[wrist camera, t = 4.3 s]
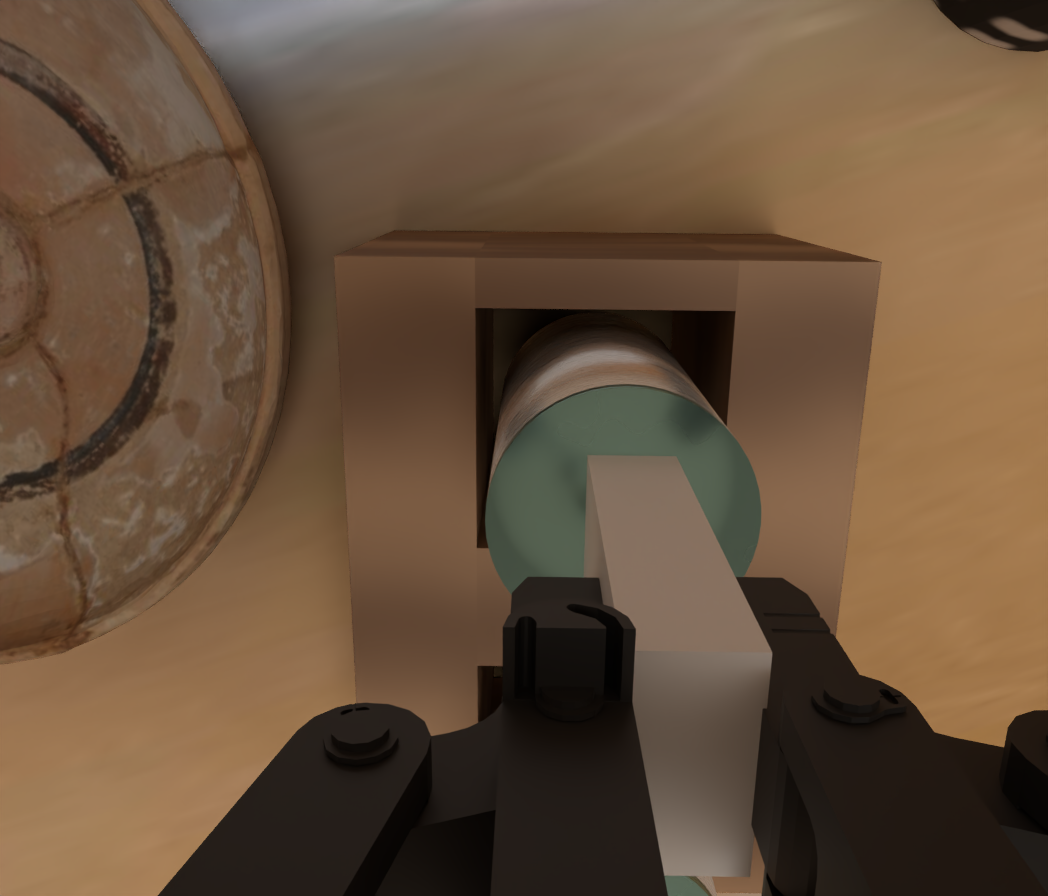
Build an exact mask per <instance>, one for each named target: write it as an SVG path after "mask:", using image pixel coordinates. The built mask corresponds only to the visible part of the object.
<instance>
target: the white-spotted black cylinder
mask: <svg viewBox="0 0 1048 896" xmlns="http://www.w3.org/2000/svg"><path fill="white" fill-rule="evenodd" d="M934 1H935V3H936V4H937V6H938V7H939V9H940V10H941V11H942V12H943V13H944V14H945V15H946V16H947V17H948V18H949V19H951V20H952V21H953V22H954V23H955V24H956V25H957V26H958V27H959V28H960V29H962V30H963V31H965V32H967V33H969V34H970V35H972V36H974V37H976V38H978V39H979V40H981V41H983V42H985V43H988V44H992V45H995V46H999V47H1002V48H1005V49H1009V50H1020V51H1035V52H1039V51H1045V50H1048V0H934Z"/></svg>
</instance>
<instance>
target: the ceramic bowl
mask: <svg viewBox="0 0 1048 896" xmlns="http://www.w3.org/2000/svg"><path fill="white" fill-rule="evenodd" d="M291 327H292V321H291V294H290V282H289V271H288V261H287V254H286V248H285V243H284V238H283V234H282V229H281V224H280V219H279V215H278V211H277V207H276V204H275V201H274V198H273V194H272V191H271V188H270V185H269V181H268V178H267V175H266V172H265V168H264V165H263V162H262V160H261V157H260V155H259V153H258V151H257V149H256V147H255V145H254V143H253V141H252V139H251V137H250V135H249V133H248V131H247V128H246V126H245V124H244V122H243V119H242V117H241V115H240V113H239V110H238V108H237V107H236V105H235V103H234V101H233V99H232V97H231V96H230V94H229V92H228V90H227V88H226V87H225V85H224V83H223V81H222V79H221V77H220V76H219V74H218V72H217V70H216V68H215V67H214V65H213V63H212V62H211V60H210V59H209V57H208V56H207V54H206V53H205V52H204V50H203V49H202V47H201V46H200V44H199V43H198V41H197V40H196V39H195V37H194V36H193V34H192V33H191V31H190V30H189V28H188V27H187V26H186V24H185V23H184V22H183V20H182V19H181V18H180V16H179V15H178V14H177V13H176V11H175V10H174V9H173V7H172V6H171V5H170V4H169V2H168V1H167V0H0V664H8V663H15V662H20V661H26V660H32V659H37V658H42V657H47V656H51V655H56V654H60V653H63V652H66V651H69V650H71V649H72V648H74V647H77V646H79V645H81V644H84V643H86V642H88V641H90V640H93V639H95V638H97V637H100V636H102V635H104V634H106V633H108V632H110V631H112V630H113V629H115V628H117V627H119V626H121V625H123V624H124V623H126V622H128V621H130V620H132V619H133V618H135V617H137V616H138V615H140V614H141V613H143V612H144V611H145V610H147V609H148V608H150V607H151V606H153V605H154V604H156V603H157V602H159V601H160V600H161V599H163V598H164V597H165V596H166V595H168V594H169V593H170V592H171V591H172V590H174V589H175V588H176V587H177V586H179V585H180V584H181V583H182V582H183V581H184V580H186V579H187V578H188V577H189V576H190V575H191V574H192V573H193V572H194V571H195V570H196V569H197V568H198V567H199V566H200V565H201V564H202V563H203V561H204V560H205V559H206V558H207V557H208V556H209V555H210V554H211V553H212V551H213V550H214V548H215V547H216V546H217V544H218V543H219V542H220V540H221V539H222V538H223V536H224V535H225V534H226V532H227V531H228V529H229V528H230V527H231V525H232V524H233V522H234V520H235V519H236V517H237V516H238V514H239V512H240V511H241V509H242V508H243V506H244V505H245V503H246V501H247V500H248V498H249V496H250V494H251V492H252V490H253V488H254V486H255V484H256V482H257V479H258V477H259V475H260V472H261V470H262V468H263V465H264V463H265V460H266V458H267V456H268V453H269V450H270V448H271V445H272V442H273V438H274V435H275V432H276V428H277V425H278V422H279V419H280V415H281V410H282V405H283V400H284V394H285V389H286V383H287V378H288V372H289V359H290V344H291Z"/></svg>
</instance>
